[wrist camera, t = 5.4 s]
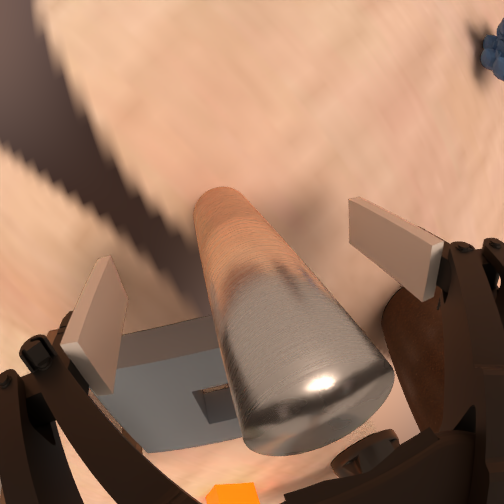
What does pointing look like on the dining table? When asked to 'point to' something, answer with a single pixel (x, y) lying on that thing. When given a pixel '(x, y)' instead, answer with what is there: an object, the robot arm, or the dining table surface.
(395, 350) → the plant pot
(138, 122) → the dining table surface
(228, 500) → the orange juice
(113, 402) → the socket block
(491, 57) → the grapes
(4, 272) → the dining table surface
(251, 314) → the steel peg
